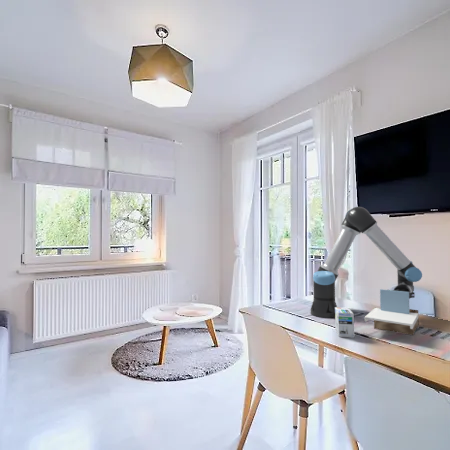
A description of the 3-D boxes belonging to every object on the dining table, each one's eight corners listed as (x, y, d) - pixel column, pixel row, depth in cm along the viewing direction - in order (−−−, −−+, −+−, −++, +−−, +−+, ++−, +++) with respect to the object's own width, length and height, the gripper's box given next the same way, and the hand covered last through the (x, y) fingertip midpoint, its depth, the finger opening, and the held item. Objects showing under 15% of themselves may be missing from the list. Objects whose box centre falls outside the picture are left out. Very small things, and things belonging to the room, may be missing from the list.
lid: (364, 321, 138) (364, 294, 138) (375, 311, 154) (374, 287, 155) (412, 329, 127) (411, 299, 127) (418, 317, 143) (417, 291, 143)
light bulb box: (354, 338, 134) (354, 313, 134) (338, 337, 135) (338, 312, 135) (349, 330, 144) (349, 307, 144) (334, 329, 145) (334, 306, 146)
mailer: (374, 328, 147) (373, 313, 147) (382, 319, 162) (382, 305, 163) (413, 335, 137) (412, 319, 137) (418, 324, 153) (418, 310, 153)
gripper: (388, 283, 169) (379, 289, 151) (416, 285, 161) (410, 292, 143) (389, 296, 169) (379, 305, 151) (417, 299, 161) (410, 308, 143)
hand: (394, 299), depth 147 cm, fingers closed
